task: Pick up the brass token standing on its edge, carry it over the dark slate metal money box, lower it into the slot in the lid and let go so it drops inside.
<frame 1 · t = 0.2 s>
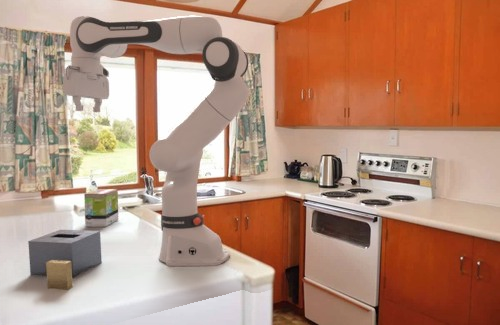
hand: (88, 111, 137), 48 cm above the counter, fingers open, 8 cm apart
tea box: (102, 223, 188), on the counter
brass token: (60, 287, 110), on the counter
money box: (67, 268, 125), on the counter
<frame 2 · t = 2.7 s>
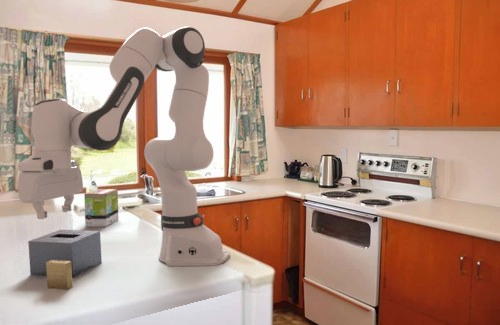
hand: (55, 215, 108), 19 cm above the counter, fingers open, 8 cm apart
nothing on the counter moved.
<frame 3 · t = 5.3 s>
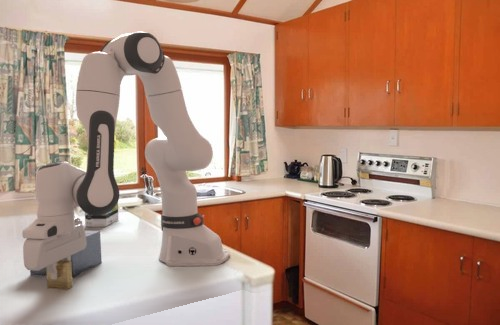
hand: (59, 276, 109), 3 cm above the counter, fingers closed on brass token, 2 cm apart
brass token: (60, 287, 110), on the counter, touching gripper
everything else where it was.
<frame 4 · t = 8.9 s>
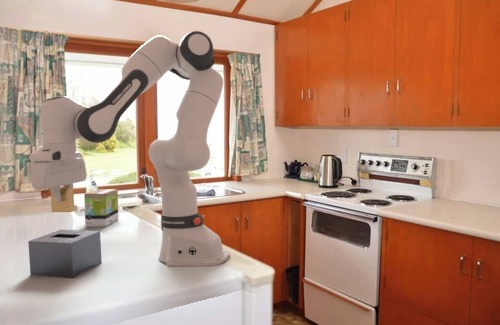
hand: (62, 200, 121), 21 cm above the counter, fingers closed on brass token
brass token: (63, 211, 121), point 18 cm above the counter, touching gripper
everything else where it was.
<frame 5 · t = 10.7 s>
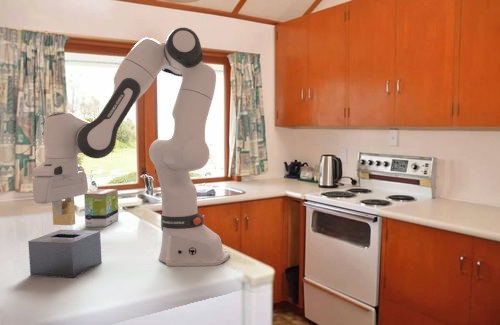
hand: (64, 213, 124), 17 cm above the counter, fingers closed on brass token
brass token: (64, 224, 124), point 14 cm above the counter, touching gripper
everything else where it was.
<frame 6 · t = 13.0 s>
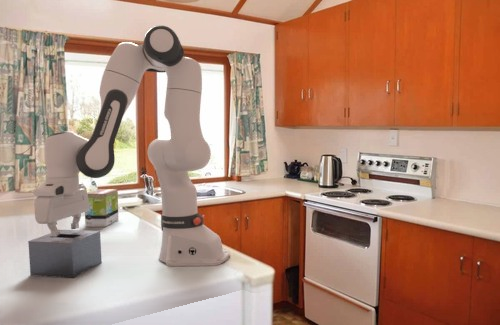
hand: (65, 232, 124), 11 cm above the counter, fingers open, 8 cm apart
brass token: (67, 268, 125), resting in money box
everything else where it was.
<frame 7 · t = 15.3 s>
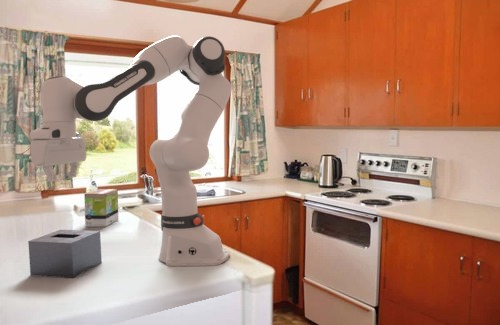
hand: (62, 179, 123), 27 cm above the counter, fingers open, 8 cm apart
nothing on the counter moved.
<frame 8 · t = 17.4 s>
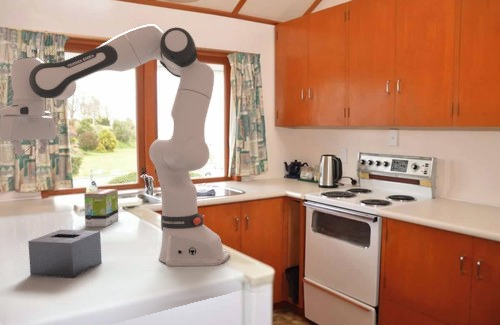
hand: (31, 154, 131), 34 cm above the counter, fingers open, 8 cm apart
nothing on the counter moved.
at the end: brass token inside the target area on the money box (0.0 cm from its centre), point 0.0 cm above the money box's base; the gripper is holding nothing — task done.
